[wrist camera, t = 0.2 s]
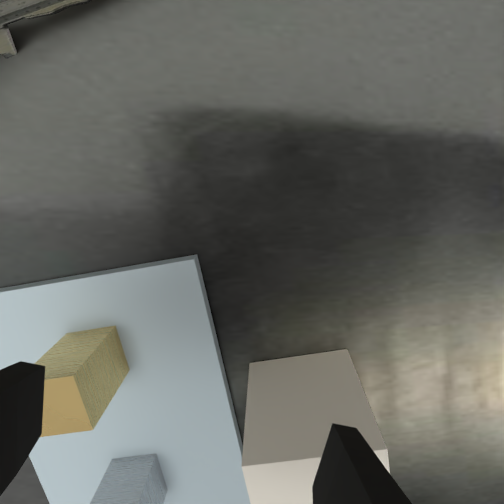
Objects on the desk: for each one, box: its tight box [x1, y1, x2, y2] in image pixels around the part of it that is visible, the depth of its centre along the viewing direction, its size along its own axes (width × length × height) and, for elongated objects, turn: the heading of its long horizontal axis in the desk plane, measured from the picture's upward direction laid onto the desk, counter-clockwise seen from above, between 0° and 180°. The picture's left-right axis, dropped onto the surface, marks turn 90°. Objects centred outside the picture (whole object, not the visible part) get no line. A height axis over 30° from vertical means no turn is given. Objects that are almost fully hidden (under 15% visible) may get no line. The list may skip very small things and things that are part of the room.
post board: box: [0, 254, 250, 504], centre depth 20 cm, size 16×12×1 cm
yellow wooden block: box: [34, 325, 130, 437], centre depth 17 cm, size 3×3×5 cm
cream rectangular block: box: [241, 349, 390, 504], centre depth 17 cm, size 5×5×7 cm
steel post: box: [90, 453, 168, 504], centre depth 19 cm, size 3×3×5 cm
